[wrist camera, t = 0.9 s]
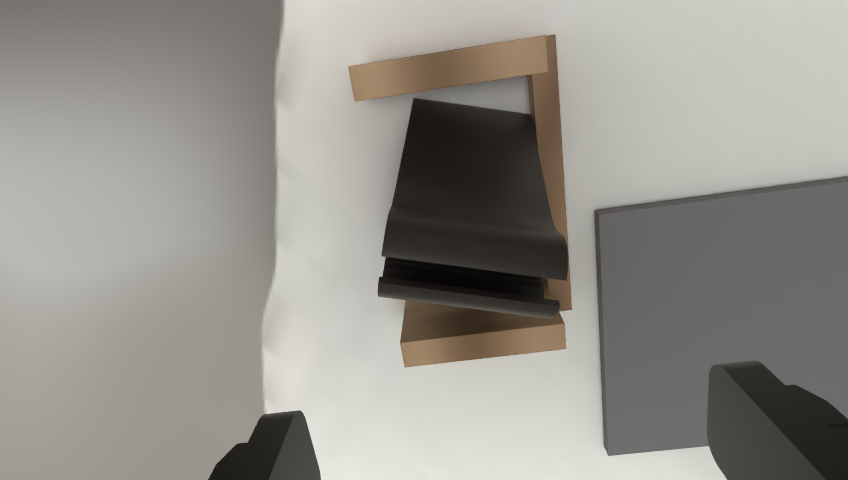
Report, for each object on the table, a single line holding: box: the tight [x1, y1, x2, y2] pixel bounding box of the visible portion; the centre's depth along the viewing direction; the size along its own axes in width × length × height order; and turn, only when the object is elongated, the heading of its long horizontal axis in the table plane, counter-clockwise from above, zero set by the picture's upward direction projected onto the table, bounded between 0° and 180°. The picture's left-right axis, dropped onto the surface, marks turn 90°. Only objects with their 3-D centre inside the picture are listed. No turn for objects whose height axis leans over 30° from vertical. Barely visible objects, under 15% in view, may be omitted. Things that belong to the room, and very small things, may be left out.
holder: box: [348, 35, 572, 367], centre depth 25 cm, size 9×14×5 cm, turn 8°
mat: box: [595, 177, 848, 456], centre depth 29 cm, size 16×16×1 cm
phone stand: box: [378, 98, 568, 319], centre depth 22 cm, size 9×6×12 cm, turn 172°
